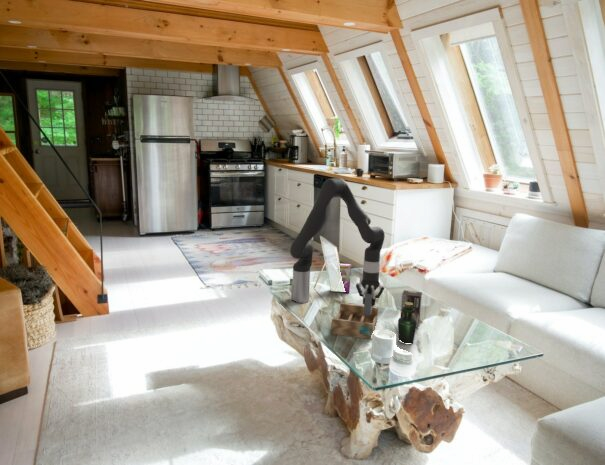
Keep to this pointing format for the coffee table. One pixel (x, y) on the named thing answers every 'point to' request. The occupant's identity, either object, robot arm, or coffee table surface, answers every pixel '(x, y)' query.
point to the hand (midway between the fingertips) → (368, 305)
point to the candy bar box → (346, 275)
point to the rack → (354, 321)
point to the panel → (368, 303)
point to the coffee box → (416, 300)
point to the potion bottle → (407, 324)
